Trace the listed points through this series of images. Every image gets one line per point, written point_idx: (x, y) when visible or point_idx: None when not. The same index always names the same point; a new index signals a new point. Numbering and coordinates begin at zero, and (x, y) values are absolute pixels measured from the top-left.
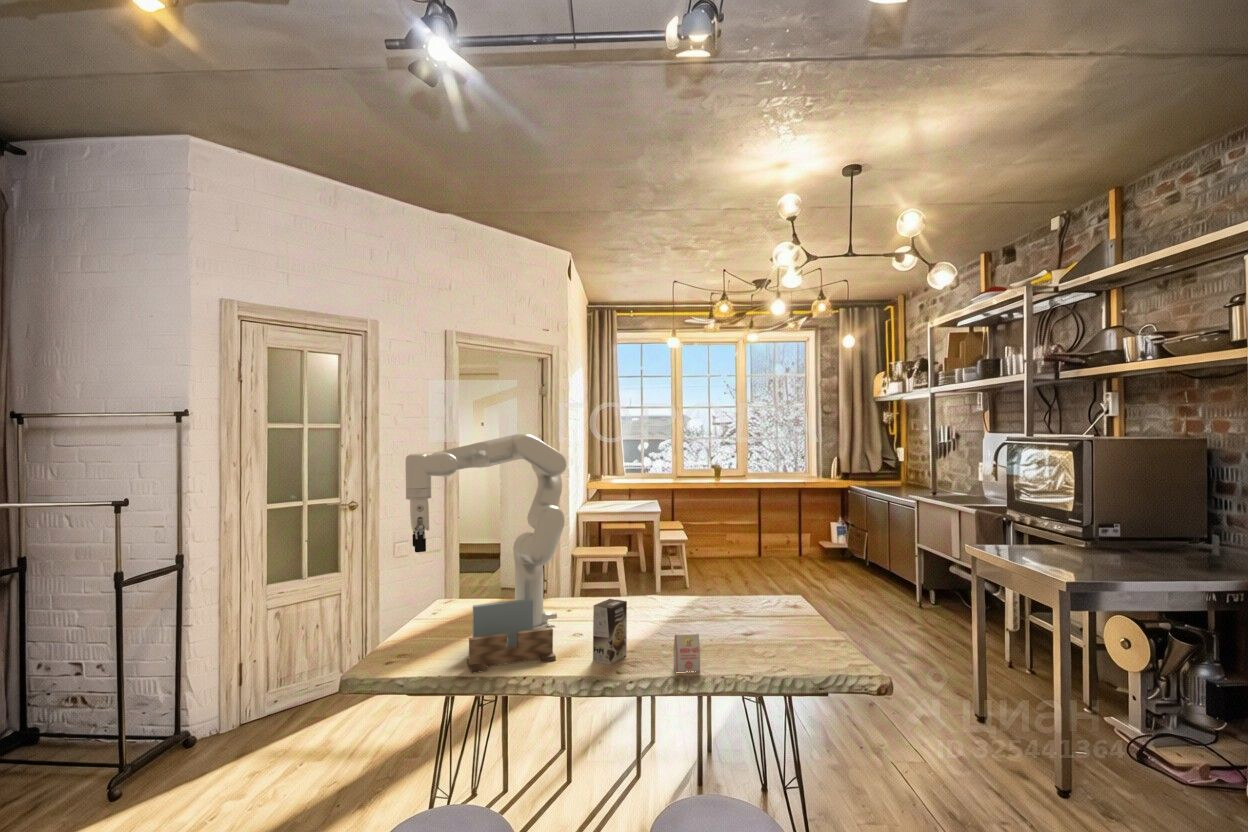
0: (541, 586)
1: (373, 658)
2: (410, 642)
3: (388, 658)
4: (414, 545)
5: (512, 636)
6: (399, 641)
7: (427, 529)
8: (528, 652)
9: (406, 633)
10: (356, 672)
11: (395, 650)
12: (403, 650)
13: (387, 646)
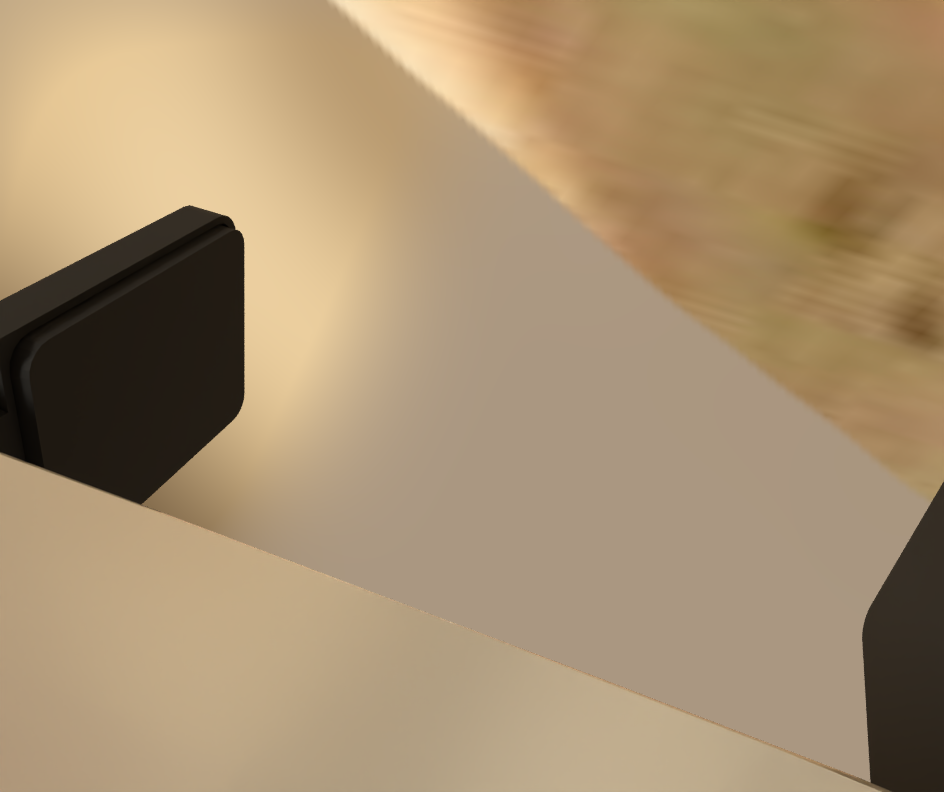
0: None
1: (769, 368)
2: (620, 89)
3: (837, 303)
4: (231, 396)
5: None
6: (555, 148)
7: (684, 755)
8: None
9: (417, 57)
10: None
11: (716, 223)
12: (752, 180)
13: (607, 240)
